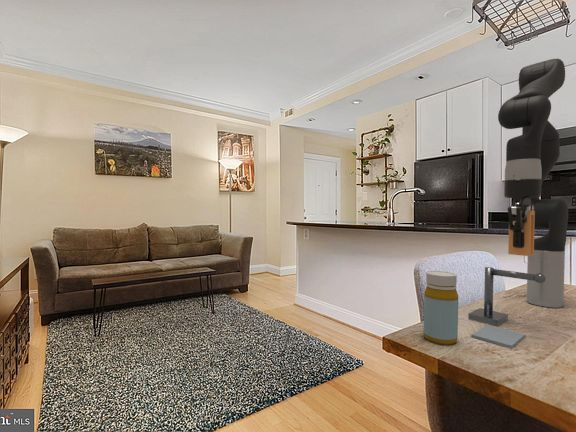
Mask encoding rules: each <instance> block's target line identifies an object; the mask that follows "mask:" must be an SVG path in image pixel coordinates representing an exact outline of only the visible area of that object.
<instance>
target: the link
mask: <svg viewBox="0 0 576 432" xmlns="http://www.w3.org/2000/svg"><path fill="white" fill-rule="evenodd" d="M524 218H525V217H524ZM524 218H522V219H524ZM534 222H535V211H528V222H527V223H526V224H525V232H524V247H523V248H515V247H513V232H512V230H510V228H509V227H508V248H507V249H508V252H507V254H508V255H514V256H515V255H516V256H526V257H528V256H530V255H534V239H535V228H534ZM516 225H519V223H516Z"/></svg>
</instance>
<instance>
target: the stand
mask: <svg viewBox="0 0 576 432" xmlns="http://www.w3.org/2000/svg"><path fill="white" fill-rule="evenodd" d="M494 276H498V277H505V278H510V279H511V278H512V279H519V280H525V281H527V280H532V281H536V282H537V283H544V282H545V281H546V277H545V275H543V274H541V273H537V274H529V273H527V272H520V271H519V272H518V271H512V270H504V269H498V268H496V269H495V268H494V267H492V266H491V267H490V266H485V267H484V289H483V290H484V292H483V293H484V294H483V295H484V296H483V298H484V299H483V308H482V307H479V308H477V309H475V310H472V311H471V312H469V313H468V316H467V317H468V320H471V321H475V322H479V323H483V324H487V325H489V326H493V327H499V326H501V325H502V324H504V323H505V322H506V321H508V320H509V314H508V313H504V312H499V311H495V310H494V307H493V306H494Z"/></svg>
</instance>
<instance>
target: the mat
mask: <svg viewBox="0 0 576 432" xmlns="http://www.w3.org/2000/svg"><path fill="white" fill-rule="evenodd" d="M470 336H471V338H472V339H473V338H474V339H478V340H480V341H483V342H487V343H491V344H494V345H497V346H501V347H505V348H508V349H513V348H514V347H515V346H517V345H518V344H519V343H521V342H522V340H524V339H525V338H526V334H525V333H521V332H517V331H512V330H509V329H505V328H501V327H498V326H494V325H490V324H487V325H484V326H483V327H481V328H480V329H478V330H476V331H475V332H473V333H471V335H470Z"/></svg>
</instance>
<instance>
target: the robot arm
mask: <svg viewBox="0 0 576 432" xmlns="http://www.w3.org/2000/svg"><path fill="white" fill-rule="evenodd" d="M564 63H565V62H564V61H563V60H562V59H560V58H551V59H547V60H544V61H540V62H535V63H532V64H529V65H527V66H523V67H521V69H520V71H519V74H518V89H519V92H518V93H517V94H515V95H514V96H512V97H511V98H508V99H507V100H506V101H505V102H504V103H502V105H501V106H500V108H499V110H498V115H497V120H498V122H499V125H500V126H501V127H502V128H504V129H506V130H515V129H521V128H522V129H521V131H522V132H521V133H522V134H520V135H517V136H515V137H512V138H510V139H508V140H507V142H506V148H505V149H506V152H505V153H506V155H505V158H506V159H505V166H504V167H505V168H504V186H503V187H504V191H503V193H504V194H503V195H504V198H507V199H512V205H510V206H508V207H507V214H508V215H507V216H508V229H509V228H510V230H512V232H513V247H515V248H523V247H524V232H525V224H526V223H527V222H528V211H535V222H534V229H548V232H547V233H546V234H545V235H543V236H541V237H537V238H534V255H530V256H527V268H526V269H527V270H526V273H529V274H537V273H541V274H543V275H545V277H546V281H545V282H544V283H537V282H536V281H532V280H526V302H527V303H529V304H531V305H535V306H539V307H546V308H555V309H559V308H564V306H565V305H564V302H565V301H564V299H565V270H566V269H565V266H566V260H565V259H566V243H567V232H568V231H567V230H568V221H569V207H568V204H567V202H566V201H565V199H562V198H561V199H560V198H552V199H551V198H546V199H545V198H544V199H543V198H541V196H542V185H543V182H544V181H545V179H546V178H547V176H548V175H549V173H550V172H551V171H552V170H553V168H554V166H555V165H556V163H557V162H558V160H559V157H560V155H561V154H560V153H561V149H560V148H561V147H560V134H559V131H558V130H557V129H556V128H555V126H554V125H553V124H552V123H551V122H550V121H549V118H550V115H551V112H552V103H551V100H550V99H549V98H550V97H552V96H553V94H555V93H556V92H557V91H558V90H560V89H561V88H562V87H563V85H564V83H565V81H566V66H565V64H564ZM540 198H541V199H540ZM524 217H525V218H524ZM522 218H524V219H522ZM516 223H519V225H516Z"/></svg>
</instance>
